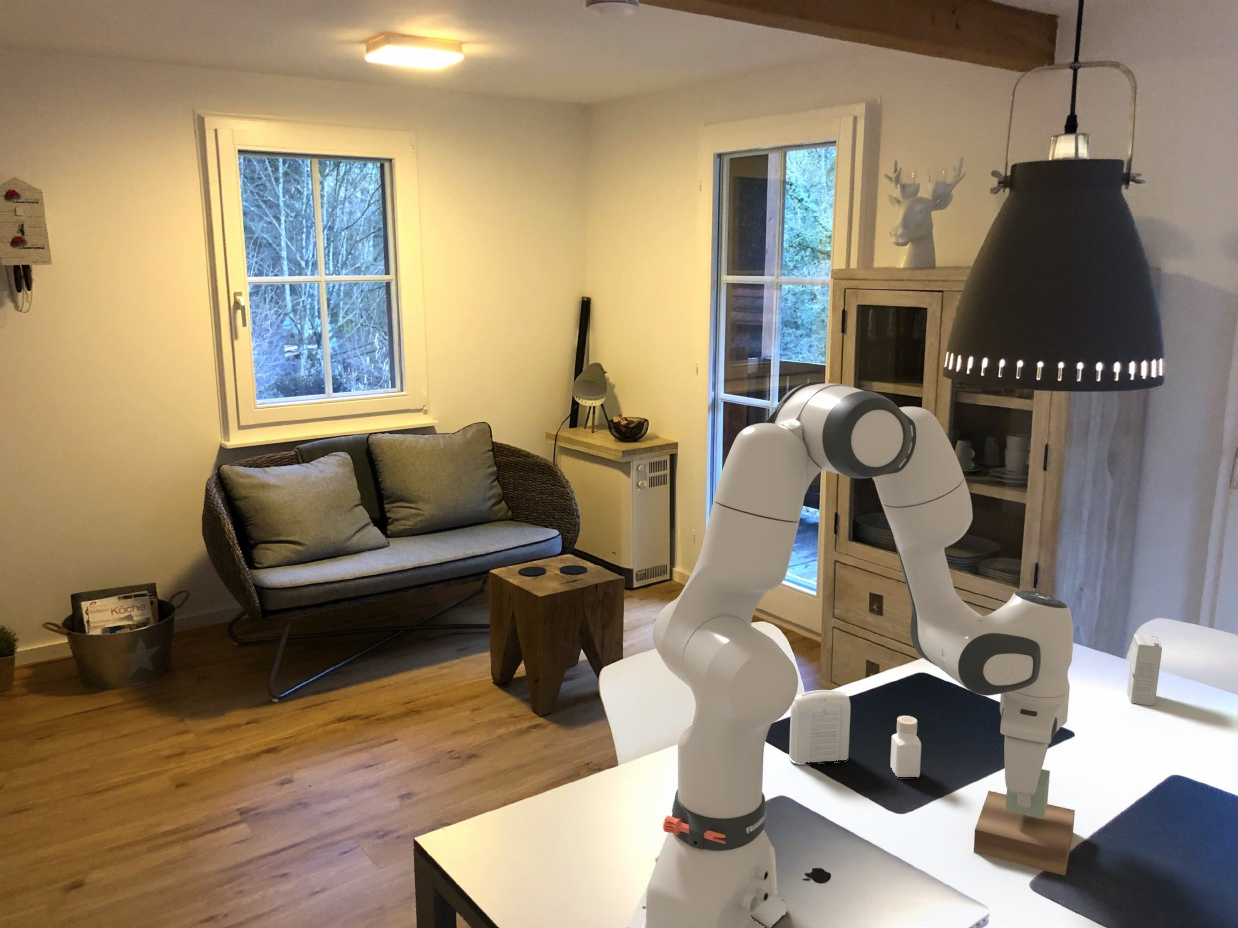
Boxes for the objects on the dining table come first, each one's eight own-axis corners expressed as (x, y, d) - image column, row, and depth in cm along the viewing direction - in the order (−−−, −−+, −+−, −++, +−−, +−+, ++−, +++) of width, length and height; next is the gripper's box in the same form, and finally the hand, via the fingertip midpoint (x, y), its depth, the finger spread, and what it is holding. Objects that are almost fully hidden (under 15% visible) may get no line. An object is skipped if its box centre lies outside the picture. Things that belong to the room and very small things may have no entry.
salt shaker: (912, 766, 165) (915, 713, 163) (920, 778, 161) (923, 724, 159) (889, 767, 165) (891, 714, 163) (896, 779, 161) (899, 725, 159)
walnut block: (1065, 878, 135) (1067, 851, 134) (973, 854, 141) (974, 829, 140) (1072, 834, 145) (1074, 809, 145) (987, 814, 151) (988, 790, 150)
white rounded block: (843, 750, 171) (845, 683, 168) (852, 762, 167) (854, 694, 164) (785, 755, 169) (787, 688, 167) (793, 767, 165) (794, 698, 163)
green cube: (1043, 819, 139) (1045, 786, 138) (1005, 810, 141) (1007, 777, 140) (1047, 802, 143) (1049, 770, 142) (1010, 793, 145) (1012, 762, 144)
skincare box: (1126, 690, 193) (1131, 632, 191) (1152, 693, 192) (1157, 634, 189) (1130, 703, 188) (1136, 643, 185) (1157, 706, 186) (1162, 646, 184)
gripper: (1020, 673, 149) (1014, 758, 152) (998, 727, 132) (992, 822, 134) (1065, 681, 146) (1059, 767, 149) (1049, 738, 129) (1042, 834, 131)
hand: (1027, 794), depth 142 cm, fingers closed on green cube, 5 cm apart
